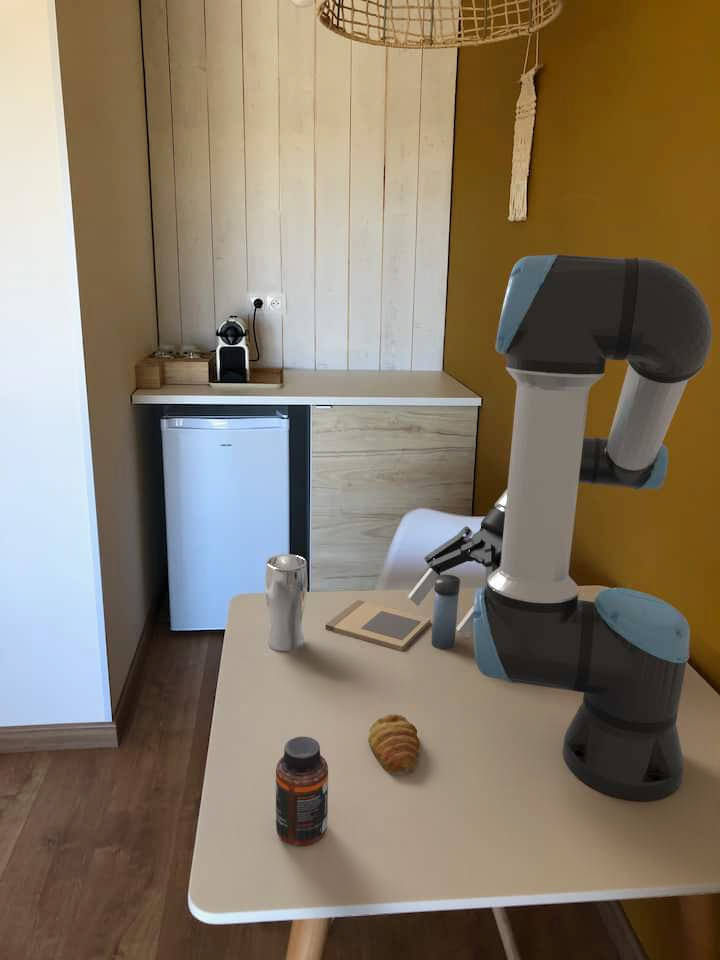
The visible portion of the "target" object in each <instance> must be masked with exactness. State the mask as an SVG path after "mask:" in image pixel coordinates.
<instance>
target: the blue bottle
mask: <svg viewBox="0 0 720 960" xmlns="http://www.w3.org/2000/svg"><path fill="white" fill-rule="evenodd" d="M460 585H461V578H459V577H458V576H455V575H453V574H440V575H439V576H436V577H435V585H434V586H433V587H434V598H433V599H434V600H433V614H432V626H431V627H432V630H431V645H432V647H434V648H436V649H439V650H451V649H453V648H454V647H455V645H456V635H457V633H456V631H457V630H456V628H457V620H458V619H457V618H458V607H459V593H460V588H461V586H460Z"/></svg>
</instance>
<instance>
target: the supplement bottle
mask: <svg viewBox="0 0 720 960" xmlns="http://www.w3.org/2000/svg"><path fill="white" fill-rule="evenodd" d="M283 748H284V749H283V750H284V752H283V753H284V754H283V756H282V757H281V758H280V759H279V760H278V762H277V764H276V766H275V767H276V768H275V828H276V835H278V838H280V840H281V841H283V842H284V843H286V844H287V845H291V846H293V847H308V846H311V845H314V844H316V843H319V841H320V840H322V839H323V838H324V836H325V834H326V833H327V829H328V818H329V817H328V812H329V811H328V809H329V808H328V807H329V806H328V805H329V803H328V801H329V798H328V796H329V795H328V794H329V768H328V767H329V766H328V763H327V760H326V759H325V758H324V756H322V755H321V745H320V743H319V741H317V740H316V739H315V738H313V737H310V736H296V737H293V738H291V739H289V740H288V741H286V743H285V745H284V747H283Z"/></svg>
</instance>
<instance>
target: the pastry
mask: <svg viewBox="0 0 720 960" xmlns="http://www.w3.org/2000/svg"><path fill="white" fill-rule="evenodd" d="M367 742H368V744H369V747H370V751H371V753H373V756H374V758H375V759H376V760H377V761H378V763H379V765H380V766H381V767H382V768H383V770H385V771H386V772H388V773H389V774H390V775H395V776H397V775H406V774H409V773H411V772H414V770H415V768H416V767H417V766H418V764H419V763H418V762H419V757H420V748H421V746H422V745H421V741H420V739H419V737H418V730H417V728H416V726H415V725H414V724H413V723H411V722H410V721H408V720H407V717H405V716H403V715H402V714H387V715H385V716H383V717H380V718H378V719H377V720H375V721H374V723H372V726H371V727H370V728H369V735H368V740H367Z"/></svg>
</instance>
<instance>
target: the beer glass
mask: <svg viewBox="0 0 720 960" xmlns="http://www.w3.org/2000/svg"><path fill="white" fill-rule="evenodd" d="M307 568H308V567H307V560H306V559H305V558H304V557H302V555H301V556H299V555H298V554H297V555H296V554H290V553H288V554H287V553H284V554H283V553H282V554H276V555H273V556H271V557H269V558H268V559H267V560H266V567H265V581H264V583H265V585H264V586H265V598H266V603H267V609H268V615H269V619H270V621H269V622H270V631H269V636H268V646H269V647H270V648H271V649H272V650H273V651H277V652H282V653H284V652H285V653H290V652H296V651H297V650H300V649H301V648H302V647H303V646H304V645H305V638H304V633H303V618H304V612H305V607H306V601H307V595H308V570H307Z"/></svg>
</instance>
